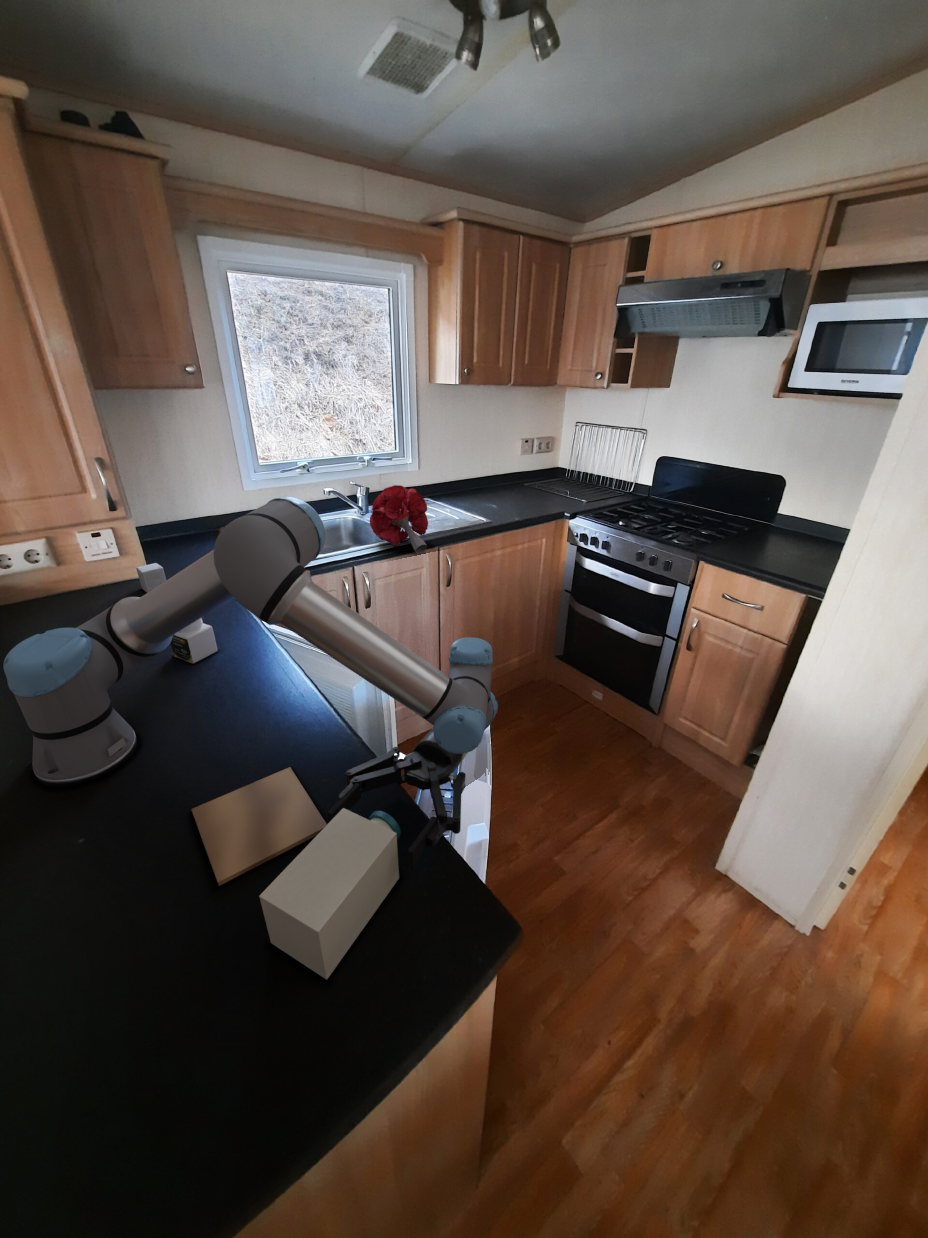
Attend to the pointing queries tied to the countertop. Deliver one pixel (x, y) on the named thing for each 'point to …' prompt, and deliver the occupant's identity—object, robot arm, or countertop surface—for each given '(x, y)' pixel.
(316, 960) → the drink carton
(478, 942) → the countertop surface
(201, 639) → the medicine bottle
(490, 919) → the countertop surface
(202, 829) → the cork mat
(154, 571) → the product box
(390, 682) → the robot arm
